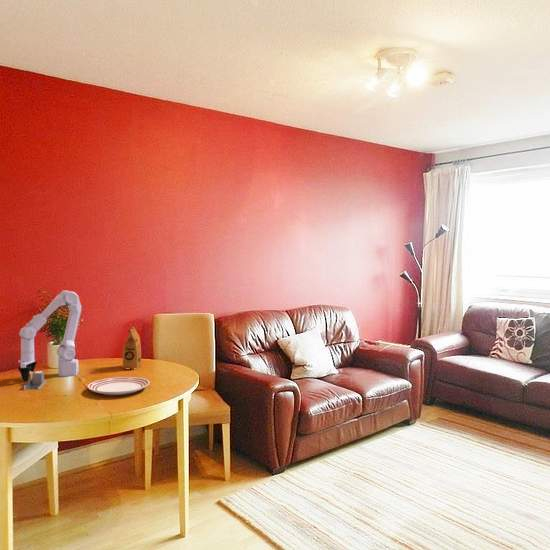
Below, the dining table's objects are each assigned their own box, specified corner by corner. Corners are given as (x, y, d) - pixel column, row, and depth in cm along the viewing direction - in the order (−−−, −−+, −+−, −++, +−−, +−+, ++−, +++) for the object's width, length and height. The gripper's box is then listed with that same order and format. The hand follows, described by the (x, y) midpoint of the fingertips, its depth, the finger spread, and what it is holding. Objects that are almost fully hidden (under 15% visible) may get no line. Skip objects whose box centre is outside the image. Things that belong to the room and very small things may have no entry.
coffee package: (119, 370, 257) (119, 330, 256) (125, 364, 269) (126, 326, 268) (137, 370, 257) (138, 330, 256) (143, 364, 269) (143, 326, 268)
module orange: (33, 381, 231) (33, 370, 231) (30, 383, 227) (30, 372, 227) (24, 381, 230) (24, 371, 230) (21, 384, 226) (21, 373, 226)
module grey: (43, 381, 227) (43, 370, 226) (41, 384, 223) (41, 373, 222) (34, 382, 226) (34, 371, 226) (32, 384, 222) (32, 373, 222)
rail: (46, 384, 226) (46, 377, 226) (39, 391, 215) (39, 384, 215) (31, 384, 225) (31, 378, 225) (24, 392, 213) (24, 385, 213)
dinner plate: (88, 384, 228) (88, 377, 228) (146, 380, 238) (146, 373, 238) (87, 401, 203) (87, 394, 203) (152, 396, 213) (152, 388, 213)
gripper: (23, 348, 234) (23, 375, 235) (13, 354, 220) (13, 383, 221) (38, 348, 236) (38, 375, 236) (29, 354, 222) (30, 382, 222)
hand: (27, 379), depth 229 cm, fingers open, 6 cm apart
